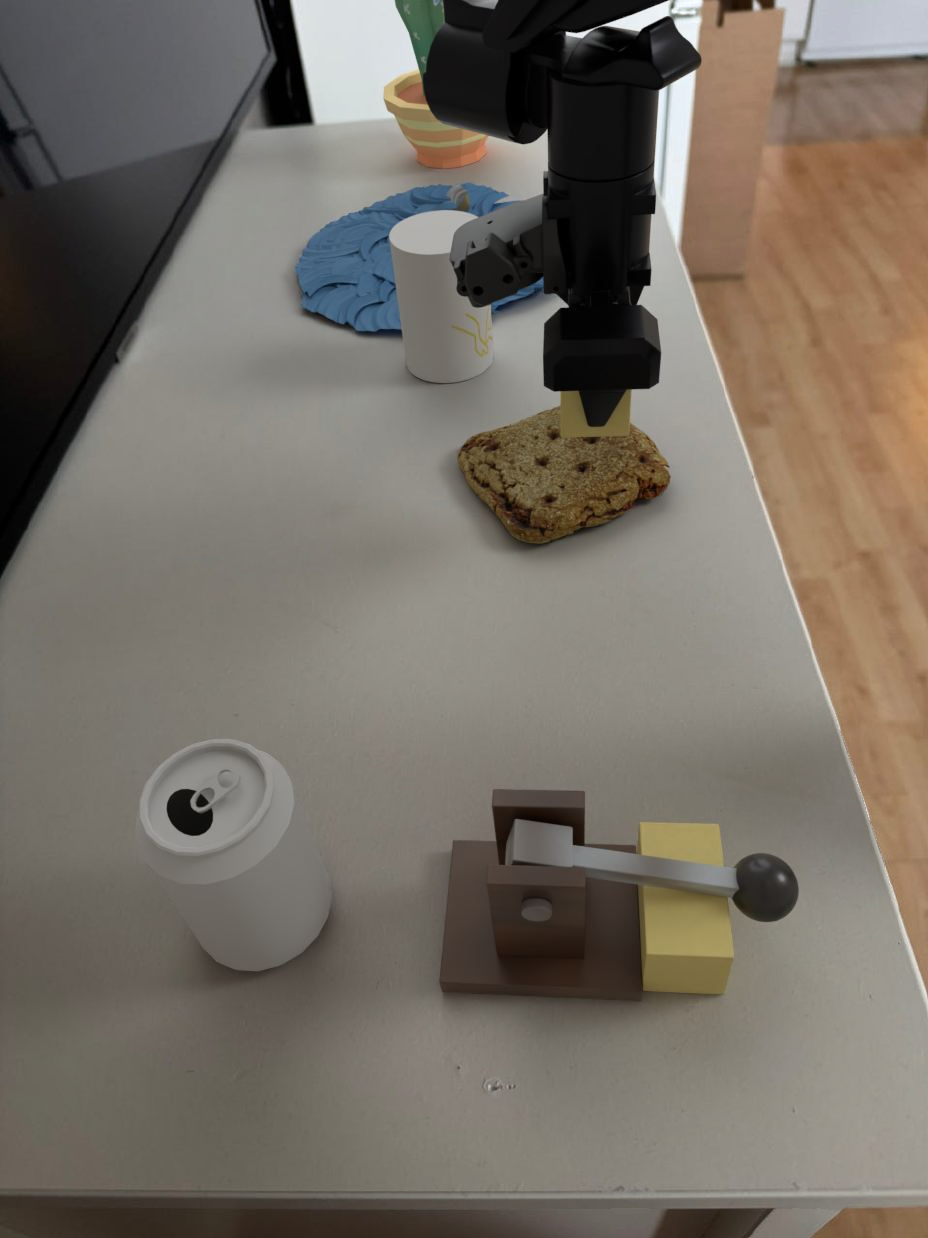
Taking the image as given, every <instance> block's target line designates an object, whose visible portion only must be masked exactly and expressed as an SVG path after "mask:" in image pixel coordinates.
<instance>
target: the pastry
mask: <svg viewBox="0 0 928 1238" xmlns="http://www.w3.org/2000/svg"><path fill="white" fill-rule="evenodd" d="M457 464H458V466H459V468H460V470H461V471H462V472H463V474H464V478H465V479H466V482H467V485H469V487H470V488H471V489H472V490H473V491H474V493H475V494H476V495H477V496H478V498H479V499H481V501H483V502H484V503H485V504H486V505H488V507H489V508H490V509H491V511H492V512H493V513H494V514H495V516H496V517H498V518H499V519H500V521H501V522H502V524H503V525H504V527H505V530H507V532H508V533H509V534H510V536H512V537H513V538H514V539H516V540H517V541H519V542H523V543H528V544H532V545H542V544H546V543H550V542H551V541H553V542H555V541H557V540H558V539H561V538H563V537H564V536H569V535H573V534H574V531H577V530H580V529H582V528H592V527H596V526H601V525H605V524H607V523H609V522H611V521H613V520H614V519H615V518H617V517H619V516H621V515H624V514H626V513H627V512H629V511H632V509H633V508H635V507H636V506H635V505H636V504H635V501H636V500H637V499H641V498H645V499H646V500H651V499H656V498H659V497H661V496H662V495H663V493H665V491H666V490H667V489H668V487H669V484H670V483H671V477H672V476H671V475H670V473H669V470H668V469H670V464H669V463H668V460H667V459H666V458H665V456H663V455H662V454H661V452H660V450H659V448H658V446H657V445H656V443H655V441H654V440H653V439H652V438H651V437H650V436H649V435H647V434H646V433H645V432H644V431H643V430H641V429H640V428H638V427H637V426H636V425H634V424H633V423H632V422H630V429H629V436H600V437H561V404H560V405H558V406H555V407H552V408H551V409H546V410H543V411H540V412H537V413H536V414H534V415H532V416H528V417H526V418H525V419H521V420H519V421H517V422H514V423H513V424H511V423H509V424H508V425H505V426H501V427H498V428H494V429H492V430H487V431H483V432H480V433H477V434H475V435H472V436H471V437H468V438H467V439H466V441H465V442H464V443H463V444H462V446H461V447H460V448H459V450H458V451H457ZM667 468H668V469H667Z"/></svg>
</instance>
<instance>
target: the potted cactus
mask: <svg viewBox="0 0 928 1238" xmlns="http://www.w3.org/2000/svg"><path fill="white" fill-rule="evenodd" d="M394 4H395V8H396V11H397V13H398V14H399V16H400V18H401V20H402V22H403V24H404V26H405V28H406V31H407V33H408V34H409V35H408V36H409V39H410V42H411V47H412V50H413V54H414V57H415V60H416V64H417V68H418V69H416V70H413V71H410V72H406V73H403V74H400V75H398V76H397V77H395V78H394V79H392V80H391V81H390V82H389V83H387V84H385V85H384V86H383V96H382V99H383V102H384V105H385V107H386V110H387V112H389V113H391V114H392V115H393V116H394V117H395V121H396V122H397V124H398V127H399V128H400V131H401V133H402V136H404V138H405V139H406V140H407V141H408V143H409V144H411V146H412V147H413V148H414V149H415V150H416V162H418V163H420V164H421V165H423V166H425V167H426V168H432V169H433V168H434V169H442V170H444V169H452V168H462V167H465V166H467V165H468V166H469V165H471V164H473V163H474V164H475V163H477V162H479V161H480V160H481V159H482V158H483V157H484V156H486V154H487V149H486V145H485V143H486V142H487V140H488V138H489V136H488V135H484V134H480V133H477V132H473V131H469V130H465V129H461V128H458V127H454V126H450V125H446V124H443V123H442V122H440V121H439V120H437V119H436V118H435V116H434V115H433V114H432V112H431V111H430V109H429V106H428V104H427V101H426V98H425V93H424V88H423V74H424V72H425V71H426V64H427V58H428V54H429V50H430V46H431V44H432V42H433V39H434V37H435V35H436V33H437V31H438V30H439V28H440V27H441V25H442V24H443V23H444V22H445V18H444V7H443V0H394Z"/></svg>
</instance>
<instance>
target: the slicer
mask: <svg viewBox="0 0 928 1238" xmlns="http://www.w3.org/2000/svg"><path fill="white" fill-rule="evenodd" d="M491 798H492V799H491V811H492V818H493V819H492V820H493V827H494V835H495V840H470V839H469V840H467V839H466V840H465V839H453V841H452V848H451V856H450V857H451V858H450V868H449V878H448V889H447V898H446V909H445V918H444V928H443V929H444V931H443V940H442V941H443V942H442V949H441V960H440V971H439V980H438V982H439V986H440V990H441V992H442V993H463V994H484V995H502V996H503V995H505V996H523V997H524V996H529V997H549V998H568V999H569V998H570V999H592V1000H610V1001H611V1000H612V1001H613V1000H614V1001H634V1002H640V1001H641V1002H642V1001H643V995H644V991H643V981H642V960H641V939H640V917H639V896H638V884H631V883H624V882H617V881H609V880H602V879H595V878H588V877H586V869H585V867H555V866H522V865H505V858H506V843H507V840H508V837H509V834H510V832H511V829H512V826H513V823H514V820H515V819H521V820H528V821H535V822H541V823H548V824H555V825H562V826H569V827H572V828H573V845H577V846H584V847H591V848H598V849H604V850H611V851H618V852H625V853H632V854H637V846H636V844H615V843H614V844H612V843H611V844H609V843H585V841H586V791H584V790H559V789H557V790H555V789H551V790H550V789H516V788H515V789H513V788H508V789H507V788H493V789H492V797H491Z"/></svg>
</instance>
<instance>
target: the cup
mask: <svg viewBox="0 0 928 1238" xmlns="http://www.w3.org/2000/svg"><path fill="white" fill-rule="evenodd" d="M476 218H478V217H477V216H475V215H473V214H470V213H466V212H462V211H453V210H439V211H430V212H425V213H420V214H417V215H414V216H411V217H408V218H406V219H404V220H402V221H400V222H399V223H398V224H396V225H395V226H394V227H393V228H392V230H391V231H390V234H389V240H390V247H391V254H392V262H393V269H394V276H395V284H396V291H397V299H398V306H399V313H400V321H401V328H402V329H401V335H402V343H403V349H404V358H405V364H406V368H407V370H408V371H409V372H410V373H411V374H412V375H413V376H414V377H416V378H418V379H419V380H422V381H426V382H429V383H435V384H452V383H459V382H464V381H467V380H470V379H473V378H476V377H477V376H480V375H482V374H483V373H484V372H485V371H486V370H488V369H489V368H490V367H491V365H492V364H493V361H494V358H495V357H494V339H493V322H492V320H493V319H492V312H491V304H490V305H488V306H485V307H481V308H475V307H473V306H472V305H471V303H470V301H469V299H468V297H463V296H461V295H459V294H458V292H457V289H456V287H457V276H456V274H455V272H454V270H453V269H454V268H453V266H452V264H451V262H450V252H451V247H452V241H453V236H454V233H455V231H456V230H457V229H458V228H459V227H461V226H462V225H463V224H465V223H467V222H469V221H471V220H474V219H476Z"/></svg>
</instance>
